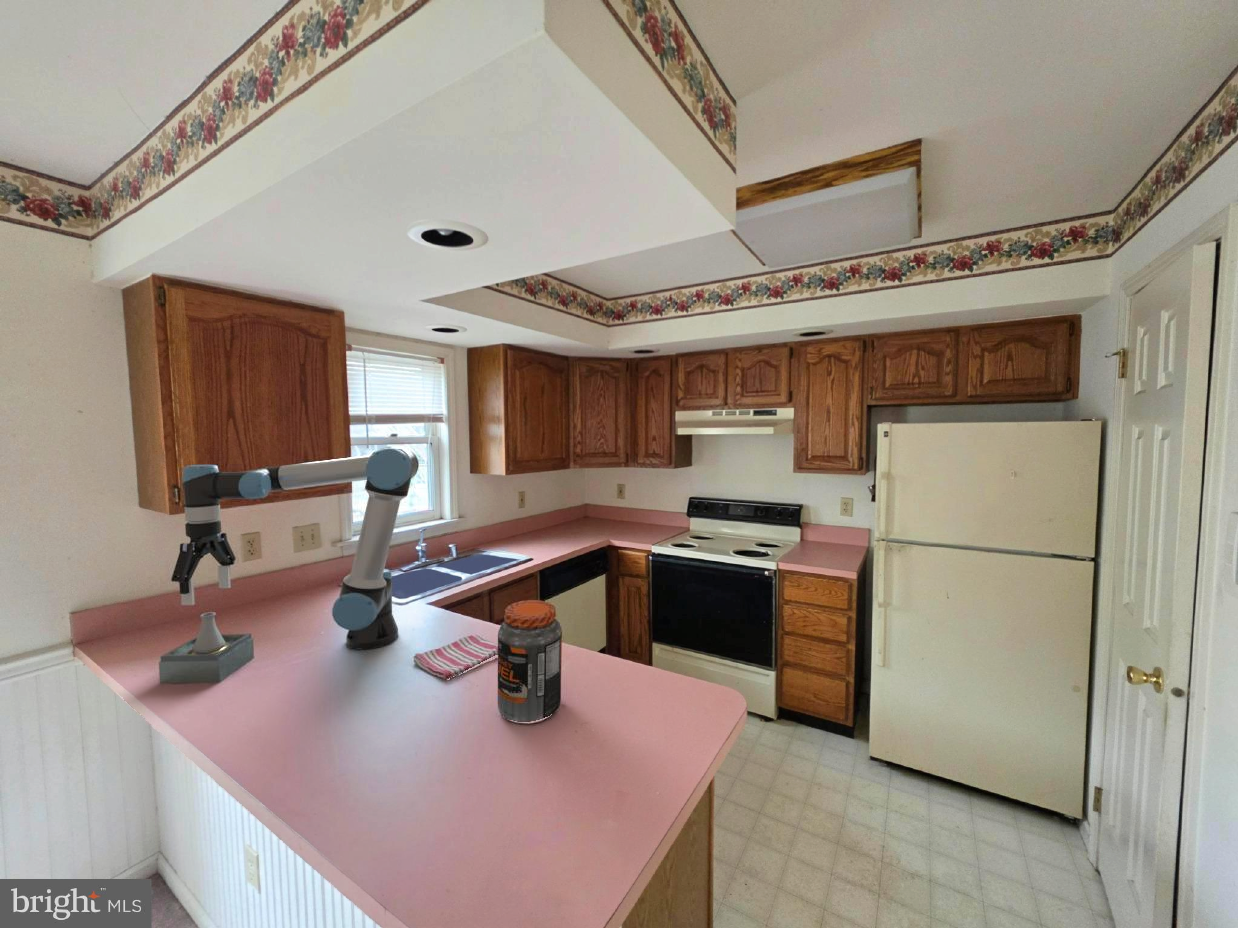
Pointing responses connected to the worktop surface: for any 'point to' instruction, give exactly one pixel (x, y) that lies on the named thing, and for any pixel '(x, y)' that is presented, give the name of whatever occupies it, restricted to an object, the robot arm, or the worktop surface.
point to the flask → (208, 635)
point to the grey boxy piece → (206, 661)
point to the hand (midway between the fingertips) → (207, 595)
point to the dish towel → (456, 656)
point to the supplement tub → (529, 661)
